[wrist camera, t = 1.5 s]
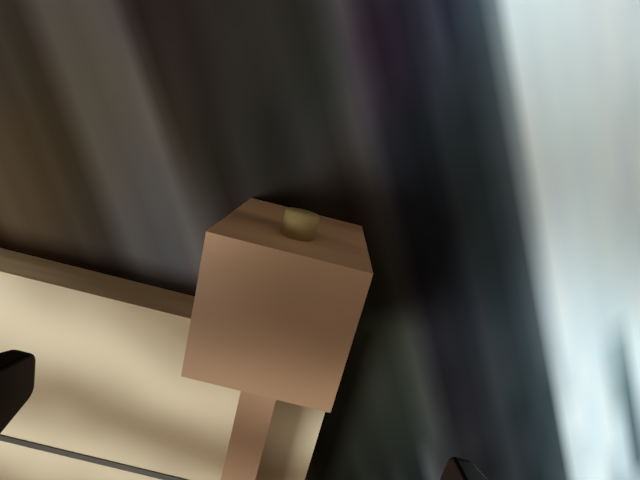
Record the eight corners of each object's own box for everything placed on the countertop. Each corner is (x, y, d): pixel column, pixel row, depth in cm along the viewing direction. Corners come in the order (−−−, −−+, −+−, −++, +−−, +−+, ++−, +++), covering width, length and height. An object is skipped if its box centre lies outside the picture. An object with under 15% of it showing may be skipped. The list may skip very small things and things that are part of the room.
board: (286, 518, 22) (281, 557, 20) (-211, 399, 21) (-268, 427, 19) (341, 333, 19) (342, 357, 17) (-244, 187, 18) (-316, 193, 16)
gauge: (286, 485, 21) (267, 617, 15) (197, 463, 21) (143, 588, 15) (366, 208, 17) (381, 248, 11) (255, 180, 17) (210, 205, 11)
